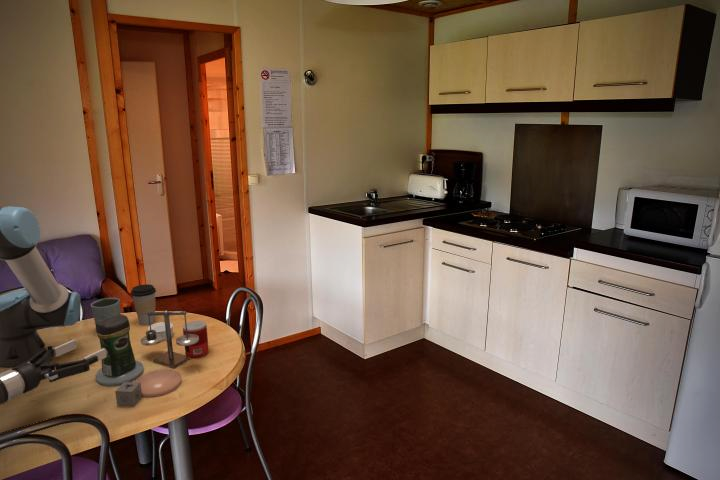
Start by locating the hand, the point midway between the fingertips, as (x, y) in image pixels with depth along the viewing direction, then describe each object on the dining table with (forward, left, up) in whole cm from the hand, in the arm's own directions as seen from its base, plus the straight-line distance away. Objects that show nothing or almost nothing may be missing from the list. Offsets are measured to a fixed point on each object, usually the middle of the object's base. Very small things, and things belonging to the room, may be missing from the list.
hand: (90, 347), depth 149 cm
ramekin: (-10, +35, -14) cm, 39 cm away
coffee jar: (0, +9, -12) cm, 15 cm away
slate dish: (0, +9, -14) cm, 16 cm away
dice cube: (+16, 0, -14) cm, 21 cm away
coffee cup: (-26, +42, -14) cm, 51 cm away
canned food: (+12, +31, -14) cm, 36 cm away
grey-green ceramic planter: (-33, +30, -14) cm, 46 cm away
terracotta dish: (+16, +10, -14) cm, 23 cm away
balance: (+8, +23, -14) cm, 28 cm away
